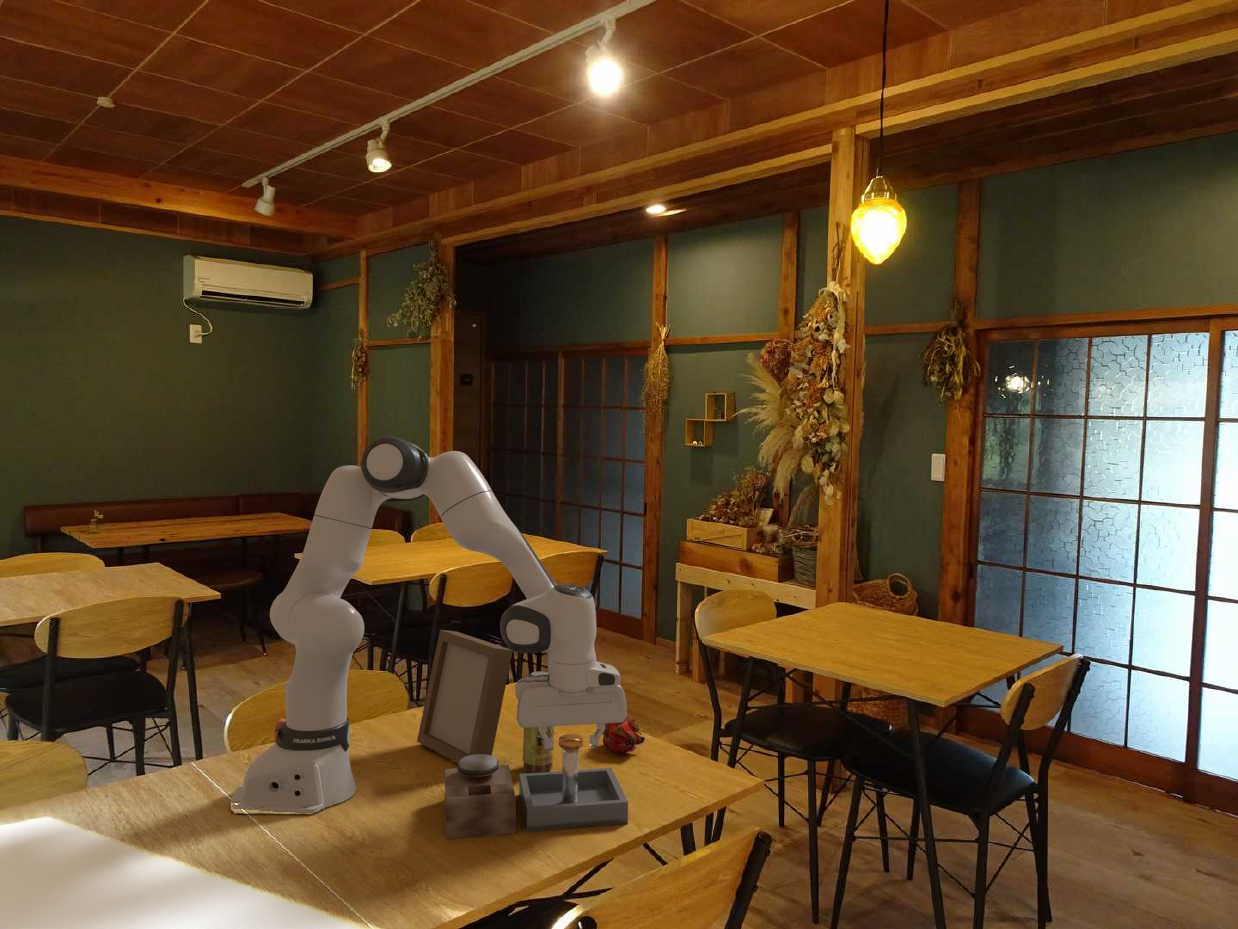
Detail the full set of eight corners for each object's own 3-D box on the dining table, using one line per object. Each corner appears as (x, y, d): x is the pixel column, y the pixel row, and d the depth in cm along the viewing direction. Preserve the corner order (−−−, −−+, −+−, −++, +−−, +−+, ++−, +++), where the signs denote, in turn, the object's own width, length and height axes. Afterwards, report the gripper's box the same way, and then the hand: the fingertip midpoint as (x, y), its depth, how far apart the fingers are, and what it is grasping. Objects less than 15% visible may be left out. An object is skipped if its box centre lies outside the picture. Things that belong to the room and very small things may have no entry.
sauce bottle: (539, 777, 182) (539, 680, 181) (516, 770, 186) (516, 674, 185) (560, 767, 187) (560, 673, 186) (537, 760, 191) (538, 667, 190)
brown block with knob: (445, 839, 156) (445, 790, 155) (445, 800, 171) (445, 755, 171) (515, 833, 158) (515, 785, 157) (508, 795, 174) (508, 751, 173)
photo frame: (471, 775, 183) (472, 653, 182) (416, 746, 199) (417, 633, 198) (530, 758, 193) (531, 642, 192) (473, 731, 209) (475, 624, 208)
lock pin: (559, 808, 166) (560, 743, 165) (556, 798, 170) (557, 735, 169) (583, 807, 166) (584, 742, 166) (579, 796, 171) (580, 733, 170)
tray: (527, 832, 158) (527, 809, 158) (519, 794, 174) (519, 774, 174) (627, 824, 162) (628, 802, 162) (611, 787, 178) (611, 767, 177)
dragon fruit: (613, 746, 204) (633, 773, 193) (585, 729, 201) (604, 756, 190) (635, 715, 205) (657, 741, 194) (608, 698, 201) (628, 723, 190)
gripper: (516, 681, 161) (516, 757, 162) (629, 676, 165) (628, 750, 166) (514, 671, 168) (513, 744, 168) (622, 666, 172) (621, 738, 172)
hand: (571, 747), depth 167 cm, fingers open, 7 cm apart
